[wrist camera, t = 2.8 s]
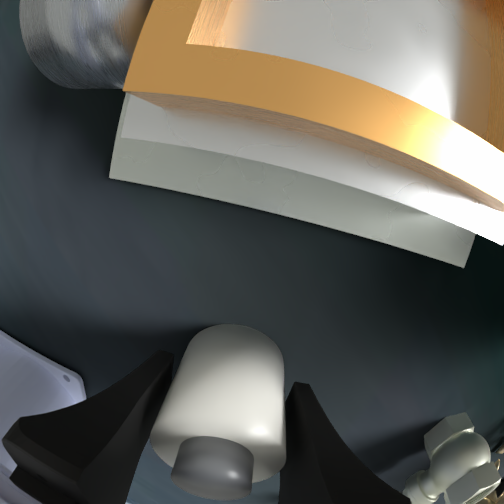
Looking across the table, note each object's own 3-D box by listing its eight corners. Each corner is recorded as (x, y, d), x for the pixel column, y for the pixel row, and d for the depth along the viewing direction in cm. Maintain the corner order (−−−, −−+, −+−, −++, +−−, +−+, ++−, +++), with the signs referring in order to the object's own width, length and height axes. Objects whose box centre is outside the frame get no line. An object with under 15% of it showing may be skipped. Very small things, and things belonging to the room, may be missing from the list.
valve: (446, 398, 13) (317, 490, 16) (488, 478, 6) (321, 559, 10) (482, 417, 13) (370, 498, 17) (515, 476, 7) (380, 554, 10)
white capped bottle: (181, 385, 13) (142, 489, 7) (191, 312, 12) (133, 428, 6) (269, 405, 13) (264, 515, 7) (296, 336, 12) (309, 464, 6)
